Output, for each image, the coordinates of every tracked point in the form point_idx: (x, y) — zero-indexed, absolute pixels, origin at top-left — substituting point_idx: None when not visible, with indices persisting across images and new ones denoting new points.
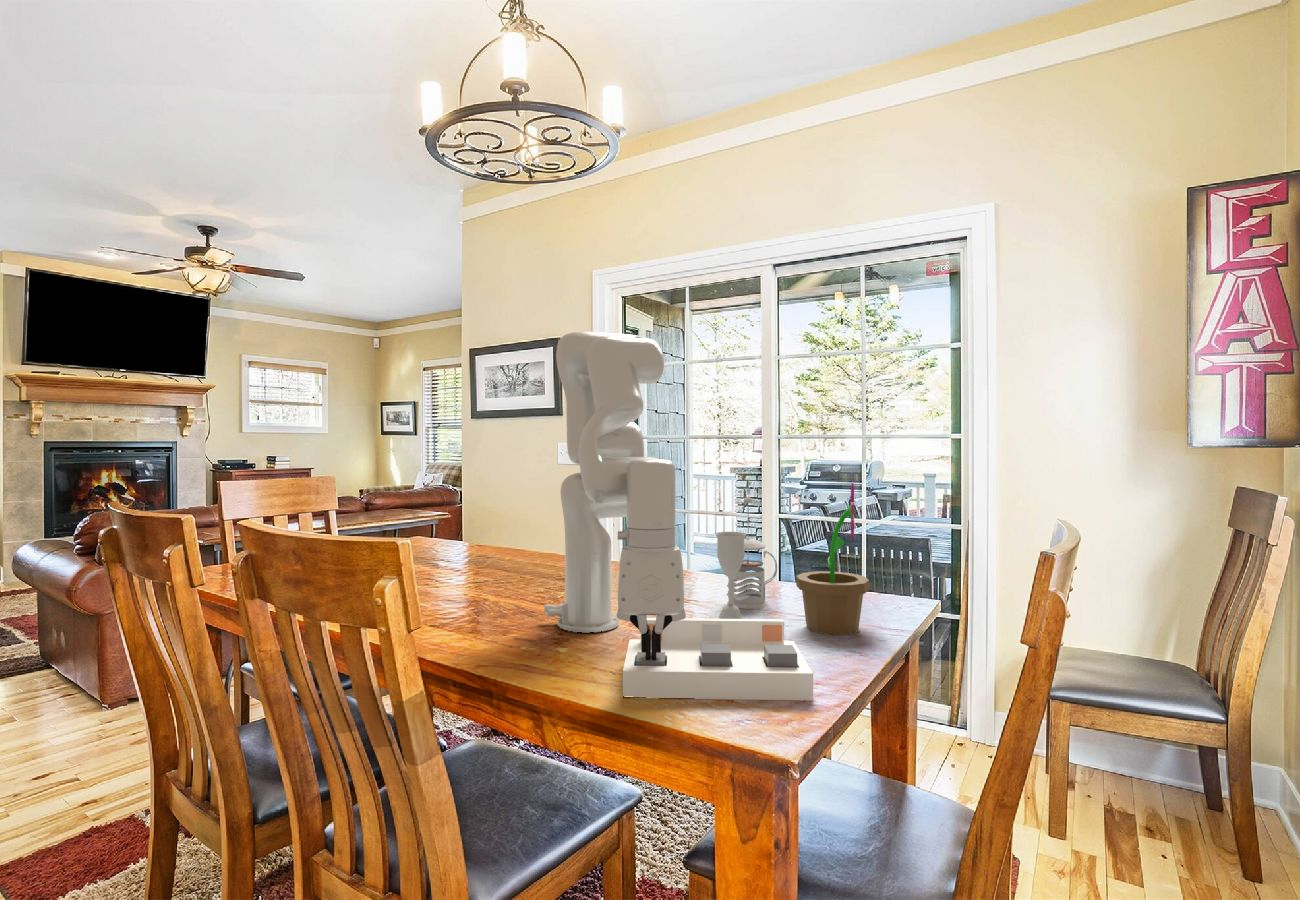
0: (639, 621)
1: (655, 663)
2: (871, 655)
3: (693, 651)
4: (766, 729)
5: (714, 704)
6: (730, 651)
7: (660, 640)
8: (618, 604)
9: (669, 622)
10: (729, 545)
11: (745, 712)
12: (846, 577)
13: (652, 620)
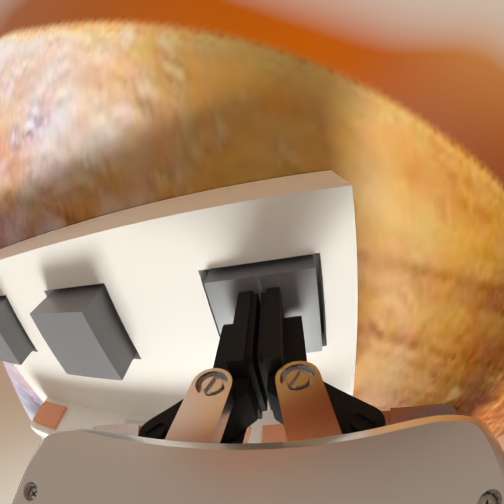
0: (323, 411)
1: (239, 274)
2: (25, 395)
3: (167, 384)
4: (8, 108)
5: (90, 188)
6: (35, 324)
7: (216, 354)
8: (502, 452)
9: (156, 418)
10: None
11: (37, 166)
12: None
13: None
